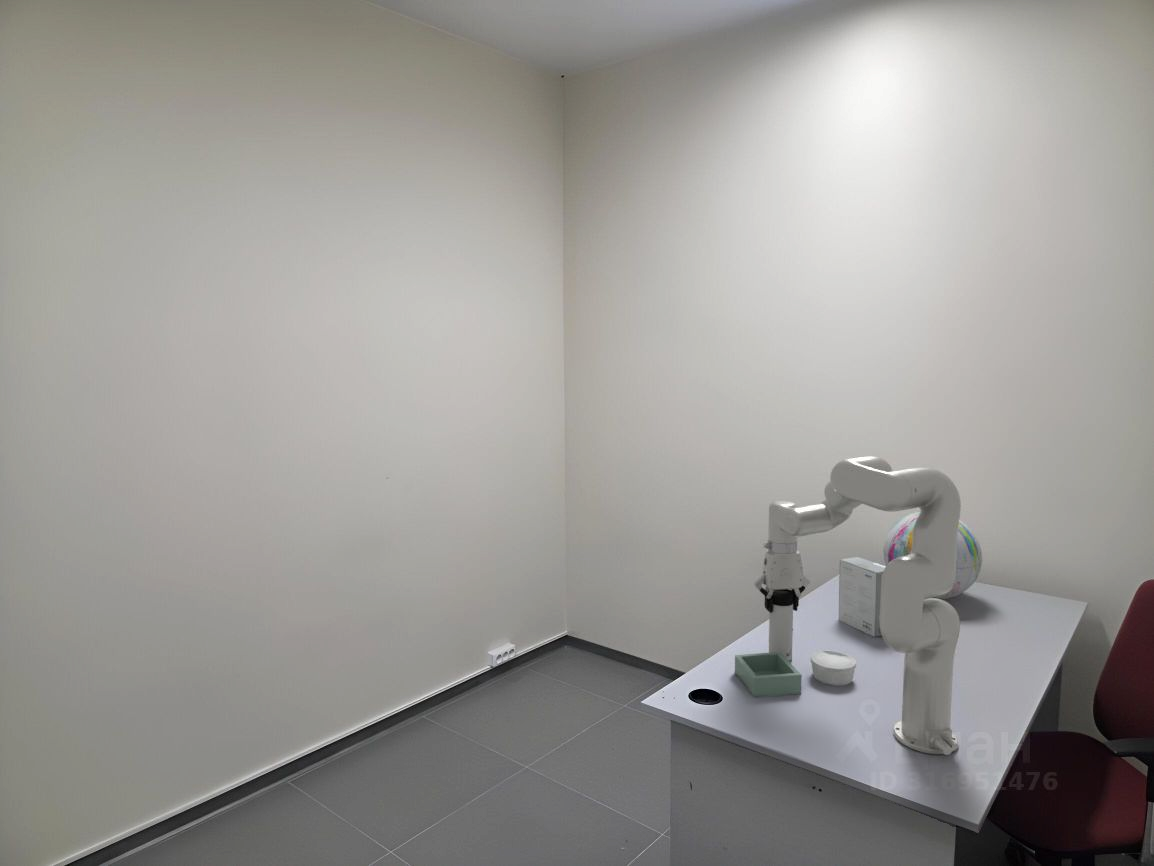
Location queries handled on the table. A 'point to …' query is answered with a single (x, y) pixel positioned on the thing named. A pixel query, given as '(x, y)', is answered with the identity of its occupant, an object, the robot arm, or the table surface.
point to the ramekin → (833, 667)
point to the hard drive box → (860, 594)
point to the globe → (967, 552)
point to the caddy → (767, 674)
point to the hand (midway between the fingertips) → (781, 609)
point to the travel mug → (781, 623)
